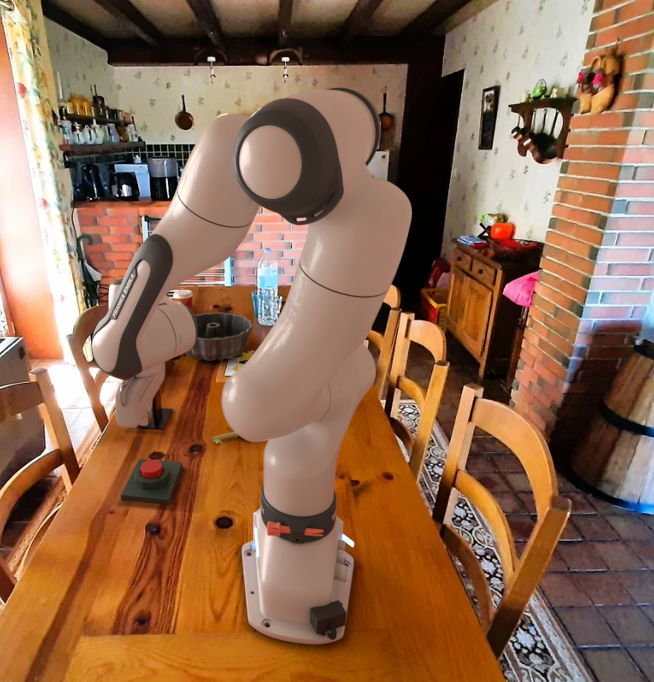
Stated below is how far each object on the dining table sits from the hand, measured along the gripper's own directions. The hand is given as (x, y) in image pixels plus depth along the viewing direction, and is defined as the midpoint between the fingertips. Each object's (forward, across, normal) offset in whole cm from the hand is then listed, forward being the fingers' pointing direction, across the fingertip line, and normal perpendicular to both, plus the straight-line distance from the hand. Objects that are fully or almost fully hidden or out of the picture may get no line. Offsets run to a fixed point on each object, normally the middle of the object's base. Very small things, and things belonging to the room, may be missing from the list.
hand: (145, 421), depth 97 cm
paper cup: (+17, +94, +14) cm, 97 cm away
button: (+12, 0, 0) cm, 12 cm away
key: (+16, +20, -15) cm, 30 cm away
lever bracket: (+16, +25, +8) cm, 31 cm away
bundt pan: (+17, +71, -1) cm, 73 cm away
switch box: (+16, 0, 0) cm, 16 cm away
